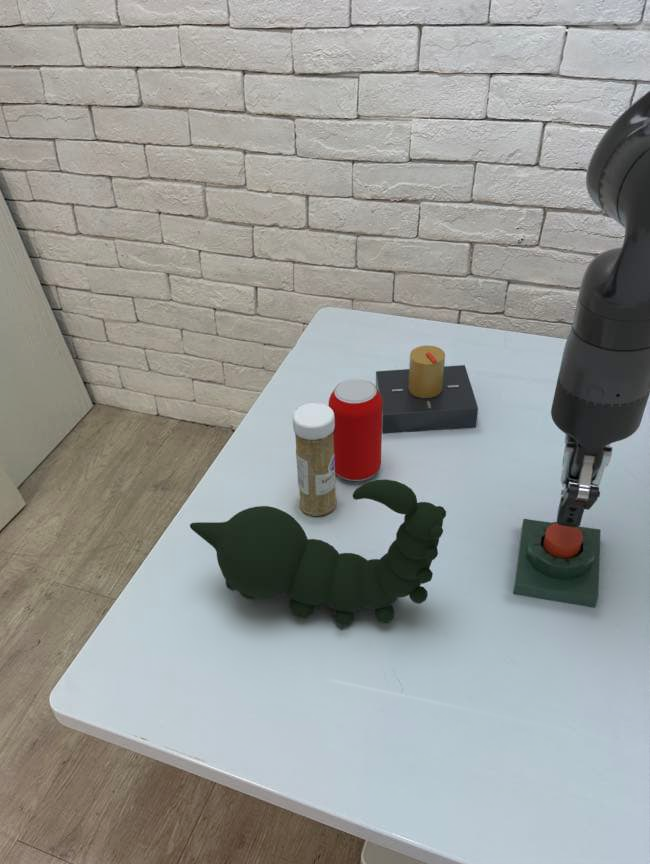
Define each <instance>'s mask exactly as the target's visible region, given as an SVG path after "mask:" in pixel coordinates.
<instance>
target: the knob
mask: <svg viewBox="0 0 650 864" xmlns="http://www.w3.org/2000/svg"><path fill="white" fill-rule="evenodd" d="M445 362H446V353H445V351H444V350H443V349H442V348H440V347H438V346H435V345H429V344H428V345H426V344H425V345H420V346H417V347H415V348H413V349H412V350H411V351H410V353H409V364H408V365H409V367H408V369H409V383H408V390H409V392H410V393H411V394H412V395H414V396H416V397H419V398H432V397H435V396H437V395H439V394H440V393H441V391H442V387H443V375H444V366H445V364H446V363H445Z"/></svg>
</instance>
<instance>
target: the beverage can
mask: <svg viewBox="0 0 650 864" xmlns="http://www.w3.org/2000/svg"><path fill="white" fill-rule="evenodd" d="M328 407H330V408H331V409H332V410H333V412H334V419H335V428H334V431H333V443H334V458H335V475H337V476H338V477H340V478H341V479H343V480H346V481H352V482H359V481H360V482H361V481H365V480H368V479H370V478H373V477H374V476H376V475H377V473H378V472H379V471H380V468H381V465H382V441H383V438H382V437H383V435H382V434H383V433H382V397H381V394H380V393H379V391H378V390H377V388H376V385H375V384H374V383H372V382H371V381H368V380H365V379H361V378H352V379H347V380H344V381H341V382H340V383H339V384H336V386H335V388H334V389H333V390H332V392H331V394H330V396H329V399H328Z"/></svg>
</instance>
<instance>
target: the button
mask: <svg viewBox="0 0 650 864" xmlns="http://www.w3.org/2000/svg"><path fill="white" fill-rule="evenodd" d="M582 540H583V534H582V532H581V531H580V530H579V529H578V528H577V527H569V526H562V525H559V524H557V523H555V524H552V525H550V526H549V527H548V528H547V530H546V534H545V538H544V542H543V545H544V548H545V550H546V551H547V552H548V553H549V554H551V555H552V556H555V557H558V558H571V557H574V556H575V555H577V554H578V553H579V551H580V547H581V544H582Z"/></svg>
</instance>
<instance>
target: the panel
mask: <svg viewBox="0 0 650 864" xmlns="http://www.w3.org/2000/svg"><path fill="white" fill-rule="evenodd" d="M408 383H409V368H403V369H390V370H377V371H375V387H376V388H377V390H378V391H379V393H380V394H381V397H382V434H389V433H390V434H391V433H392V434H393V433H404V432H407V433H408V432H421V431H422V432H423V431H436V430H437V431H438V430H453V429H467V428H476V427H477V420H478V413H479V406H478V403H477V400H476V397H475V394H474V390H473V387H472V384H471V380H470V378H469V374H468V371H467V368H466V365H465V364H462V365H461V364H460V365H444V375H443V387H442V391H441V393H440V394H439V395H437V396H435V397H432V398H419V397H416V396H414V395H412V394H411V393H410V392H409V390H408Z"/></svg>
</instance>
